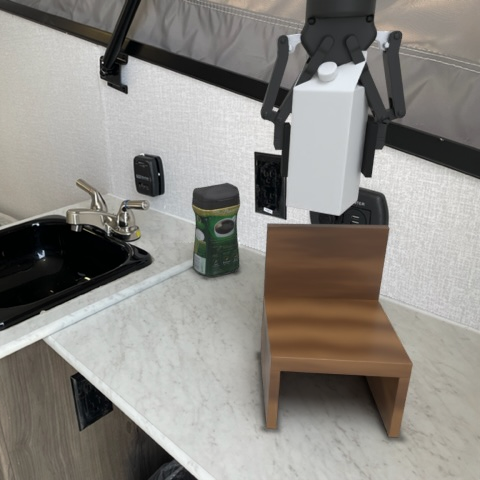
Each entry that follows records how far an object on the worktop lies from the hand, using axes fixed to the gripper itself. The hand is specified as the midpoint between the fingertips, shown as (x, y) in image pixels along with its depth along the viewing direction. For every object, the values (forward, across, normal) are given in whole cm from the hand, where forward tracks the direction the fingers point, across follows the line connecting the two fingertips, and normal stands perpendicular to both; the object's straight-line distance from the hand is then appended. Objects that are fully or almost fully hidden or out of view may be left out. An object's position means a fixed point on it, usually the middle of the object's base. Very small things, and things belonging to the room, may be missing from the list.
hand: (324, 174), depth 64 cm
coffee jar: (+30, -16, +32) cm, 46 cm away
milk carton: (+4, 0, 0) cm, 4 cm away
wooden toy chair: (+30, +1, -6) cm, 30 cm away
